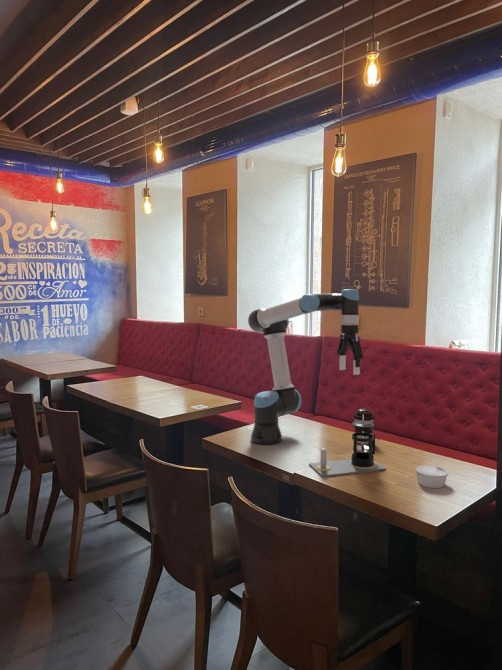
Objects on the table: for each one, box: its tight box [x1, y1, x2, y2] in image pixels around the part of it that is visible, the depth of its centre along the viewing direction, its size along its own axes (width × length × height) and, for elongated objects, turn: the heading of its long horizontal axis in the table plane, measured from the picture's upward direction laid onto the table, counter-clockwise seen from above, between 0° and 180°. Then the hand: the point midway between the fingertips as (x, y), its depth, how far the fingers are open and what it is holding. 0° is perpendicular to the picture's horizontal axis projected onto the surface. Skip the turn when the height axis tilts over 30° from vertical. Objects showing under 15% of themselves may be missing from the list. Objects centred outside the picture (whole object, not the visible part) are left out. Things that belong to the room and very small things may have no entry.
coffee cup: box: [353, 410, 376, 445], centre depth 236 cm, size 10×10×15 cm
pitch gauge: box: [308, 447, 387, 478], centre depth 202 cm, size 14×28×9 cm, turn 105°
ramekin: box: [415, 465, 448, 489], centre depth 185 cm, size 11×11×5 cm
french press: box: [351, 408, 376, 467], centre depth 204 cm, size 12×9×23 cm
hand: (349, 372), depth 218 cm, fingers open, 13 cm apart
